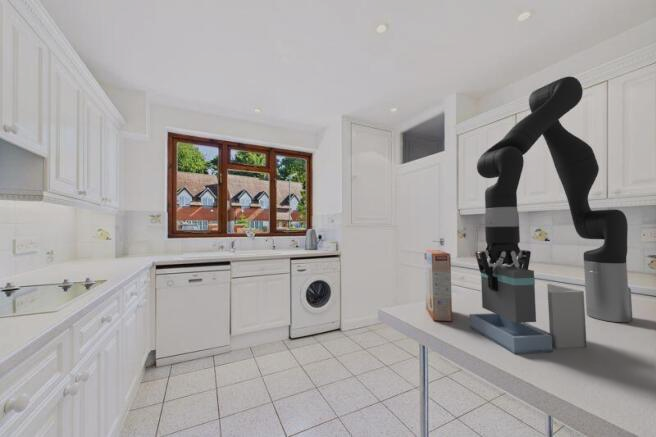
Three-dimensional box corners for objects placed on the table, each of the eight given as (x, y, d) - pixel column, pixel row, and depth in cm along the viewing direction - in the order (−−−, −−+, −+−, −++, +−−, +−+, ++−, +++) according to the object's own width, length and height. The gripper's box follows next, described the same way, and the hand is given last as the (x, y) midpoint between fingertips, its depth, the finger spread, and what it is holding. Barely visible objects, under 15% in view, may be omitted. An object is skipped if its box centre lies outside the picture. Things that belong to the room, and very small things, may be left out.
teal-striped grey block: (499, 306, 74) (497, 263, 75) (536, 321, 62) (534, 270, 63) (482, 307, 74) (480, 264, 74) (516, 322, 62) (514, 271, 62)
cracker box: (453, 322, 80) (451, 253, 81) (432, 321, 82) (430, 253, 82) (443, 308, 94) (441, 249, 95) (425, 307, 95) (423, 249, 96)
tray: (499, 325, 77) (499, 312, 77) (552, 351, 61) (551, 335, 61) (469, 326, 76) (469, 314, 77) (514, 354, 60) (513, 337, 60)
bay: (551, 332, 72) (549, 283, 72) (586, 346, 63) (583, 291, 63) (523, 333, 71) (521, 284, 72) (554, 348, 62) (551, 292, 63)
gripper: (485, 225, 65) (487, 295, 65) (539, 224, 66) (542, 292, 66) (466, 225, 73) (469, 288, 72) (516, 225, 74) (518, 286, 73)
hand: (504, 290), depth 69 cm, fingers closed on teal-striped grey block, 5 cm apart
